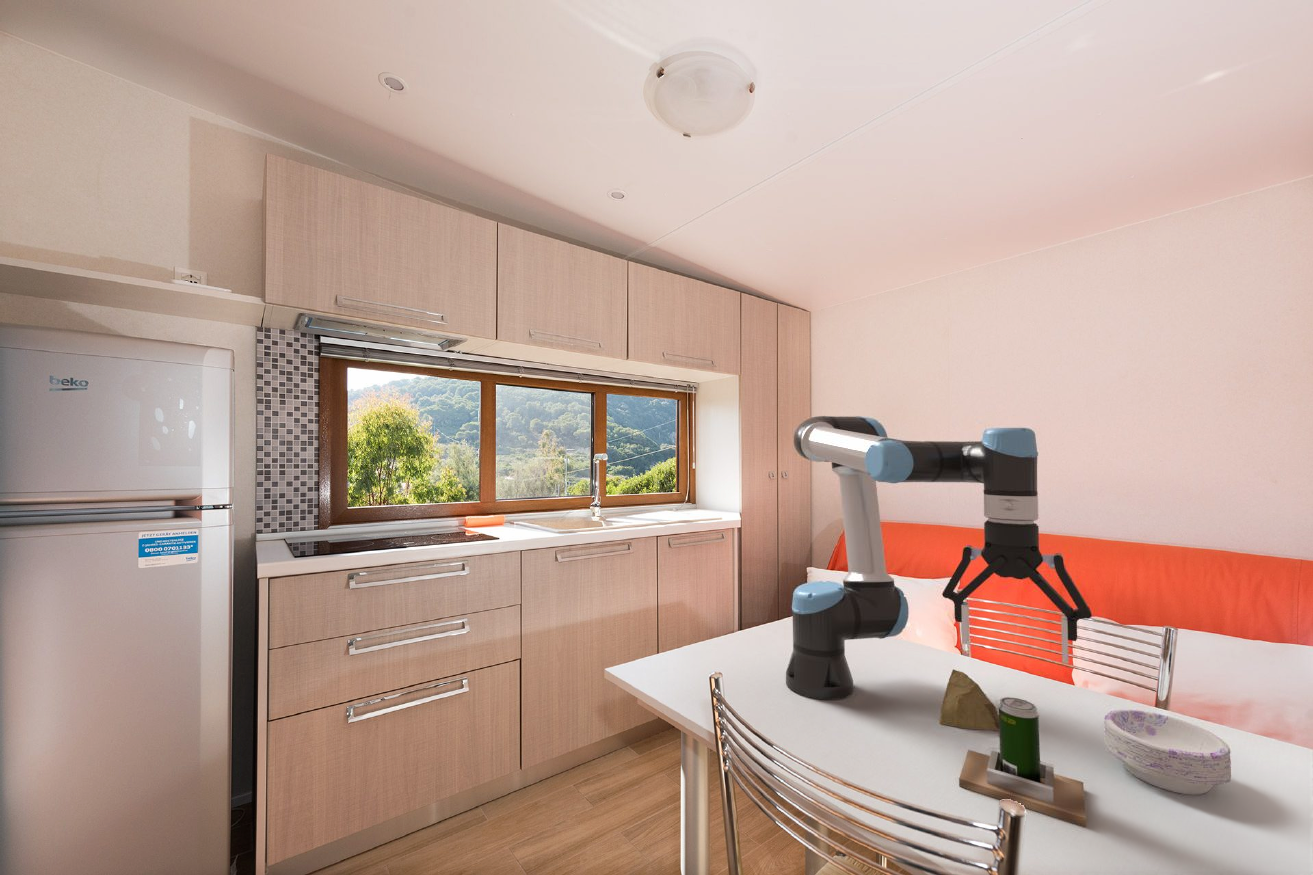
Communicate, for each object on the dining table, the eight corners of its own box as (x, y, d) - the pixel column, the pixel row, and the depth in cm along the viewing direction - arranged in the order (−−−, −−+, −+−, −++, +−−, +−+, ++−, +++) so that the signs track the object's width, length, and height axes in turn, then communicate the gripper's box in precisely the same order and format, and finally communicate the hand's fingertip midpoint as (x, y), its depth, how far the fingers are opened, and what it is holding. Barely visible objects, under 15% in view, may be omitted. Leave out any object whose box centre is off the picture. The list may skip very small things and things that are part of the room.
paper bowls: (1203, 817, 79) (1201, 762, 79) (1086, 764, 92) (1084, 717, 93) (1252, 792, 85) (1249, 741, 85) (1135, 746, 99) (1133, 702, 99)
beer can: (1031, 794, 82) (1029, 714, 83) (994, 777, 86) (991, 701, 87) (1047, 783, 85) (1044, 705, 85) (1009, 767, 89) (1007, 693, 90)
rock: (1012, 713, 107) (959, 690, 114) (1008, 687, 103) (953, 664, 111) (993, 759, 101) (938, 732, 109) (987, 734, 98) (931, 707, 105)
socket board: (959, 786, 86) (958, 765, 86) (968, 756, 95) (967, 737, 95) (1086, 826, 76) (1085, 803, 77) (1083, 789, 85) (1082, 769, 85)
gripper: (923, 517, 93) (925, 640, 92) (1110, 529, 78) (1114, 677, 77) (931, 513, 99) (933, 629, 98) (1107, 524, 84) (1111, 661, 83)
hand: (1013, 650), depth 88 cm, fingers open, 13 cm apart
